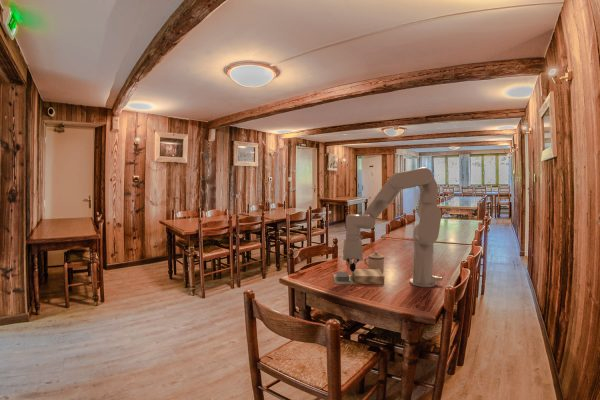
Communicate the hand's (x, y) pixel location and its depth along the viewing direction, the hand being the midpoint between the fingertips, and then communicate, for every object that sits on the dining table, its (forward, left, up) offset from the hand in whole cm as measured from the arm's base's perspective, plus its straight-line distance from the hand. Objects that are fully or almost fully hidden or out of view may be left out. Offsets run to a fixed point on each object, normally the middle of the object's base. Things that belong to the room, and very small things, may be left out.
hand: (352, 270), depth 170 cm
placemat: (+5, 0, -5) cm, 7 cm away
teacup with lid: (-15, -17, -5) cm, 23 cm away
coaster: (+5, 0, -2) cm, 6 cm away
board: (-8, 0, -5) cm, 9 cm away
